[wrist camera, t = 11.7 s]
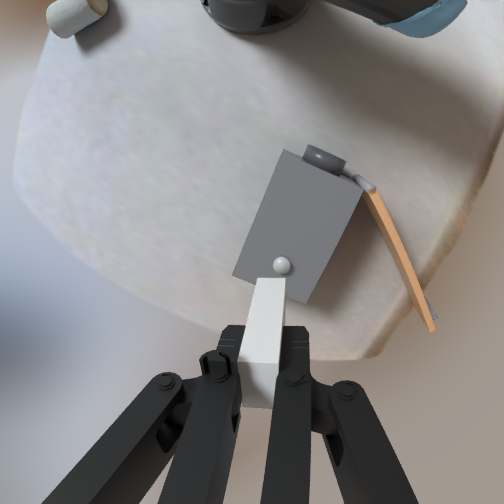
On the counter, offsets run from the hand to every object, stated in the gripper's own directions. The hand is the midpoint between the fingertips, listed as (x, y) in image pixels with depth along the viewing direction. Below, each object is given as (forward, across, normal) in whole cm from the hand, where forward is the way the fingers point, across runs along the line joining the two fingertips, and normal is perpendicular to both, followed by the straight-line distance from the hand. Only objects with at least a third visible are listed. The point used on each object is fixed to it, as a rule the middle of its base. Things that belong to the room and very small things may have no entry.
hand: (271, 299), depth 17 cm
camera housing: (+28, +2, -3) cm, 28 cm away
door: (+27, +16, -8) cm, 33 cm away
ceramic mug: (+29, -30, +34) cm, 54 cm away
